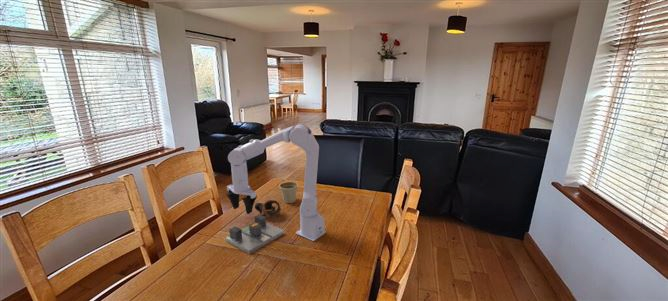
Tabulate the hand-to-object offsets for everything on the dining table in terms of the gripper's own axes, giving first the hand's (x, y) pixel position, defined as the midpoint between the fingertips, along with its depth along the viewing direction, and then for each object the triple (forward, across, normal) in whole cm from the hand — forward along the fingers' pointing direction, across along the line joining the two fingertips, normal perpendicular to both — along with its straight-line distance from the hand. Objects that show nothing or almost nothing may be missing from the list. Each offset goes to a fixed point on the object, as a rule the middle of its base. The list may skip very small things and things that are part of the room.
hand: (242, 210), depth 114 cm
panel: (+9, -7, +1) cm, 12 cm away
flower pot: (+10, +4, -32) cm, 34 cm away
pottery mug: (+10, +2, -16) cm, 18 cm away
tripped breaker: (+8, -7, +1) cm, 10 cm away
